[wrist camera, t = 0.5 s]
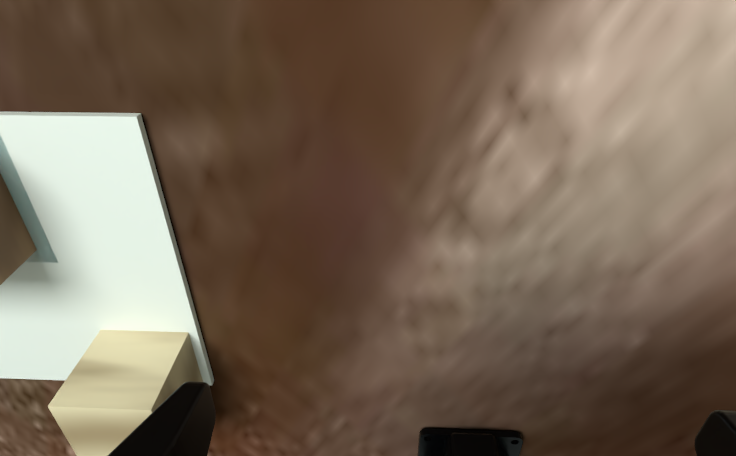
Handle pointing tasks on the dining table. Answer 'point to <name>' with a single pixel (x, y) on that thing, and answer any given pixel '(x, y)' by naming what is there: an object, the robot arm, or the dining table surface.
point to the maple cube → (121, 386)
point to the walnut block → (12, 235)
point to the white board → (87, 242)
